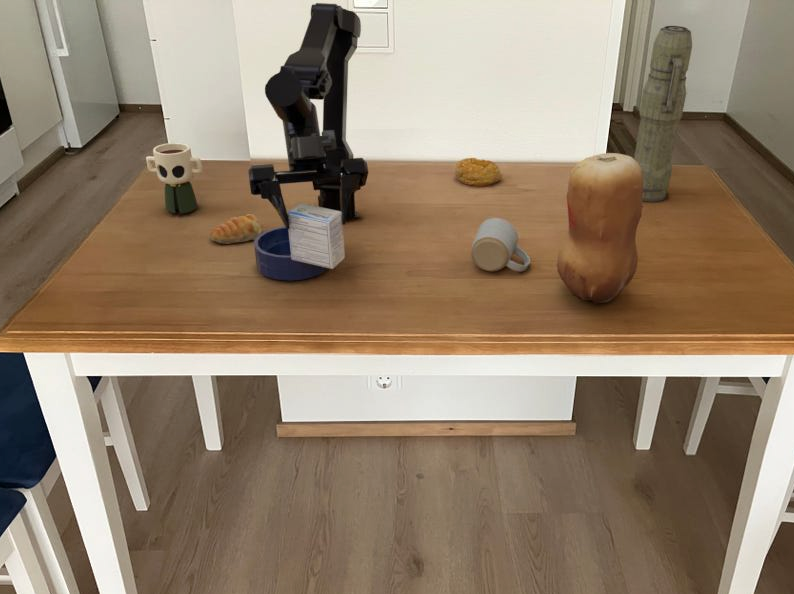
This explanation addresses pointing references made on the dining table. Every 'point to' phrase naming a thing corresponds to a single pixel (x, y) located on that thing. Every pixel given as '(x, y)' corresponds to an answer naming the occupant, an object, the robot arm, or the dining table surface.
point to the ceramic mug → (497, 246)
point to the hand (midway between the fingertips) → (316, 226)
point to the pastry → (237, 230)
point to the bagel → (477, 172)
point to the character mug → (176, 175)
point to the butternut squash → (601, 226)
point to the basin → (281, 257)
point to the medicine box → (316, 235)
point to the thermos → (662, 109)
